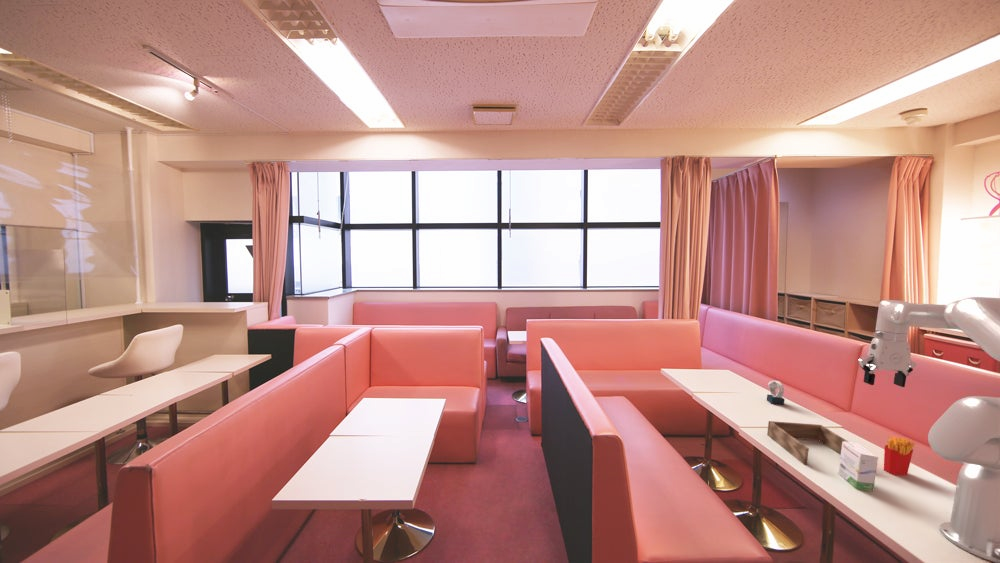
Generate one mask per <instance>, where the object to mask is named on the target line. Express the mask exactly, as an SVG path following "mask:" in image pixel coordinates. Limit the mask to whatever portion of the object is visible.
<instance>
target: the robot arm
mask: <svg viewBox="0 0 1000 563" xmlns="http://www.w3.org/2000/svg"><path fill="white" fill-rule="evenodd" d="M877 309H878V310H877V317H876V324H875V331H874V332H872V336H873V337H874V338H873V337H872V339H871V342H870V344H869V347H868V352H867V355H866V356H862V357H861V358H859V359H858V364H859V367H860V368H861V369H862V371H863V372H864V373H863V374H864V375H863V383H865V384H867V385H870V386H874V385H875V379H876V374H875V373H876V371H877V370H882V371H895V373H894V378H893V385H896V386H898V387H901V388H905V387H906V383H907V382H906V381H907V377H908V376H909V375H910V373H911V372H913V370H914V369H915V367H916V366H917V363H916V362H915V361H912V360H911V356H912V354H911V353H912V352H911V345H910V342H909V341H908V336H909V330H910V329H909V328H911V327H912V328H913V327H914V328H926V329H927V328H928V329H942V330H943V329H945V330H958V331H962V333H963V334H965V335H966V336H967V337H968V338H969V339H970V340H972V341H973V343H975V344H976V345H977V346H978V347H980V349H981V350H983V351H984V353H986V354H987V355H989V357H991V358H993V359H994V360H996V361H998V362H999V363H1000V297H983V296H981V297H980V296H971V297H966V298H963V299H959V300H955V301H952V302H951V303H948V304H934V303H920V302H918V303H917V302H913V303H912V302H907V301H905V300H904V301H903V300H897V299H894V300H893V299H882V300H881V301H880V302H879V304H878V308H877ZM927 440H928V444H929V446H930V448H931V450H932V451H933V452H934V453H935V455H937V456H938V457H940V458H942V459H944V460H946V461H950V462H953V463H959V464H963V465H962V466H961V468H960V470H959V472H958V476H957V479H956V487H955V492H954V498H953V504H952V509H951V515H950V521H949V522H942V523H941V524H939V531H940V532H941V534H942V535H943V537H945V538H946V539H947V540H949V541H950V542H951V543H952V544H954V545H956V546H957V547H959V548H960V549H962V550H964V551H966V552H967V553H968V552H969V553H970V554H972V555H975V556H977V557H979V558H982V559H984V560H986V561H991V562H993V563H1000V397H995V396H984V395H983V396H982V395H974V396H973V395H972V396H971V395H970V396H969V395H968V396H966V397H963V398H960V399H957V400H956V401H954V402H953V403H952V404H951V405H950V406H949V407H948V408H947V409H946V410H945V412H943V414H941V416H940V417H939V418H938V419H937V420H936V421H935V422H934V423H933V425H931V427H930V429H929V432H928V435H927Z"/></svg>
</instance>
